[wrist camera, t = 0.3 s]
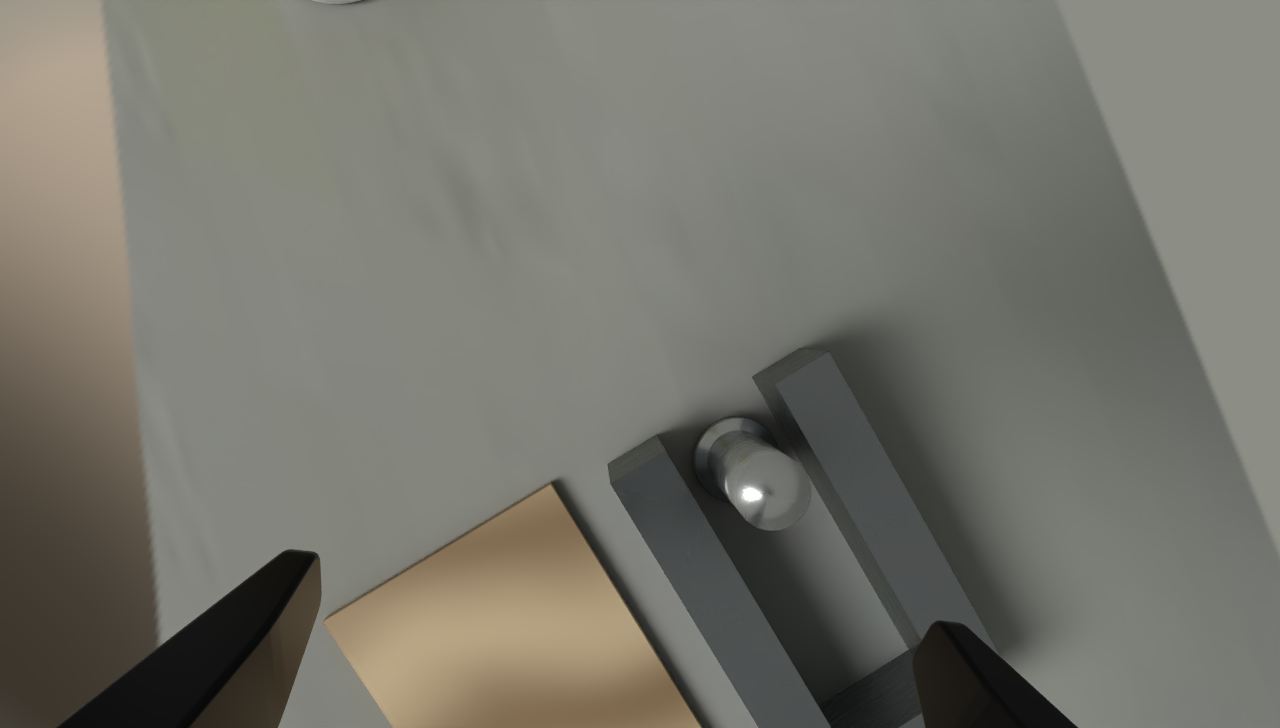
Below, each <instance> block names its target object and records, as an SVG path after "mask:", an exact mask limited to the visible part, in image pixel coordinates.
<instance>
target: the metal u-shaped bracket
mask: <svg viewBox="0 0 1280 728" xmlns="http://www.w3.org/2000/svg"><path fill="white" fill-rule="evenodd" d="M752 378H753V380H754V382H755V384H756V385H757V387H758V389H759V390H760V392H761V394H762V396H763V397H764V399H765V401H766V403H767V404H768V406H769V408H770V410H771V411H772V413H773V415H774V416H775V418H776V420H777V422H778V423H779V425H780V427H781V429H782V430H783V432H784V434H785V436H786V437H787V439H788V441H789V442H790V444H791V446H792V448H793V449H794V451H795V453H796V455H797V456H798V458H799V460H800V462H801V463H802V465H803V467H804V469H805V470H806V472H807V474H808V475H809V477H810V479H811V481H812V482H813V484H814V486H815V488H816V489H817V491H818V493H819V495H820V496H821V498H822V500H823V501H824V503H825V505H826V507H827V508H828V510H829V512H830V514H831V515H832V517H833V519H834V521H835V522H836V524H837V526H838V527H839V529H840V531H841V533H842V534H843V536H844V538H845V540H846V541H847V543H848V545H849V547H850V548H851V550H852V552H853V554H854V555H855V557H856V559H857V560H858V562H859V564H860V566H861V567H862V569H863V571H864V573H865V574H866V576H867V578H868V580H869V581H870V583H871V585H872V586H873V588H874V590H875V592H876V593H877V595H878V597H879V599H880V600H881V602H882V604H883V606H884V607H885V609H886V611H887V612H888V614H889V616H890V618H891V619H892V621H893V623H894V625H895V626H896V628H897V630H898V632H899V633H900V635H901V637H902V639H903V640H904V642H905V644H906V645H907V647H908V649H909V650H908V651H906V652H905V653H903V654H902V655H900V656H898V657H897V658H895V659H894V660H892V661H890V662H889V663H887V664H886V665H884V666H882V667H881V668H879V669H878V670H876V671H874V672H873V673H871V674H870V675H868V676H866V677H865V678H863V679H862V680H860V681H859V682H857V683H855V684H854V685H852V686H851V687H849V688H847V689H846V690H844V691H843V692H841V693H839V694H838V695H836V696H835V697H833V698H831V699H830V700H828V701H827V702H825V703H823V704H822V705H820V706H819V707H818V705H817V703H816V702H815V700H814V698H813V697H812V695H811V693H810V691H809V690H808V688H807V686H806V685H805V683H804V681H803V680H802V678H801V676H800V675H799V673H798V671H797V670H796V668H795V666H794V665H793V663H792V661H791V660H790V658H789V656H788V655H787V653H786V651H785V650H784V648H783V646H782V645H781V643H780V641H779V640H778V638H777V636H776V634H775V633H774V631H773V629H772V628H771V626H770V624H769V623H768V621H767V619H766V618H765V616H764V614H763V613H762V611H761V609H760V608H759V606H758V604H757V603H756V601H755V599H754V598H753V596H752V594H751V593H750V591H749V589H748V588H747V586H746V584H745V583H744V581H743V579H742V577H741V576H740V574H739V572H738V571H737V569H736V567H735V566H734V564H733V562H732V561H731V559H730V557H729V556H728V554H727V552H726V551H725V549H724V547H723V546H722V544H721V542H720V541H719V539H718V537H717V536H716V534H715V532H714V531H713V529H712V527H711V526H710V524H709V522H708V520H707V519H706V517H705V515H704V514H703V512H702V510H701V509H700V507H699V505H698V504H697V502H696V500H695V499H694V497H693V495H692V494H691V492H690V490H689V489H688V487H687V485H686V484H685V482H684V480H683V479H682V477H681V475H680V474H679V472H678V470H677V469H676V467H675V465H674V463H673V462H672V460H671V458H670V457H669V455H668V453H667V452H666V450H665V449H664V447H663V445H662V444H661V442H660V441H659V439H658V437H657V436H656V435H655V436H653V437H652V438H650V439H648V440H647V441H645V442H643V443H642V444H640V445H638V446H637V447H635V448H633V449H632V450H630V451H628V452H627V453H625V454H623V455H622V456H620V457H618V458H617V459H615V460H613V461H612V462H610V463H608V471H609V478H610V484H611V486H612V487H613V489H614V491H615V492H616V494H617V496H618V497H619V499H620V500H621V502H622V504H623V505H624V507H625V509H626V510H627V512H628V514H629V515H630V517H631V519H632V520H633V522H634V523H635V525H636V527H637V528H638V530H639V532H640V533H641V535H642V537H643V538H644V540H645V542H646V543H647V545H648V546H649V548H650V550H651V551H652V553H653V555H654V556H655V558H656V560H657V561H658V563H659V565H660V566H661V568H662V569H663V571H664V573H665V574H666V576H667V578H668V579H669V581H670V583H671V584H672V586H673V588H674V589H675V591H676V593H677V594H678V596H679V597H680V599H681V601H682V602H683V604H684V606H685V607H686V609H687V611H688V612H689V614H690V616H691V617H692V619H693V620H694V622H695V624H696V625H697V627H698V629H699V630H700V632H701V634H702V635H703V637H704V639H705V640H706V642H707V643H708V645H709V647H710V648H711V650H712V652H713V653H714V655H715V657H716V658H717V660H718V662H719V663H720V665H721V666H722V668H723V670H724V671H725V673H726V675H727V676H728V678H729V680H730V681H731V683H732V685H733V686H734V688H735V690H736V691H737V693H738V694H739V696H740V698H741V699H742V701H743V703H744V704H745V706H746V708H747V709H748V711H749V713H750V714H751V716H752V717H753V719H754V721H755V722H756V724H757V726H758V727H759V728H925V725H924V720H923V716H922V711H921V707H920V702H919V698H918V693H917V689H916V684H915V680H914V675H913V670H912V659H913V655H914V652H915V650H916V649H917V647H918V645H919V644H920V642H921V641H922V639H923V637H924V636H925V634H926V632H927V631H928V629H929V627H930V626H931V624H932V623H934V622H935V621H938V620H942V621H951V622H959V623H962V624H964V625H966V626H967V627H968V628H969V629H970V630H971V631H973V632H974V633H975V634H976V635H977V636H978V637H979V638H980V639H981V640H982V641H983V642H985V643H986V644H987V645H988V646H989V647H990V648H991V649H992V650H993V651H994V652H996V653H997V654H998V655H999V656H1000V654H999V653H998V651H997V649H996V647H995V646H994V644H993V642H992V640H991V638H990V637H989V635H988V633H987V631H986V630H985V628H984V626H983V624H982V622H981V621H980V619H979V617H978V615H977V614H976V612H975V610H974V608H973V606H972V605H971V603H970V601H969V599H968V598H967V596H966V594H965V592H964V590H963V589H962V587H961V585H960V583H959V581H958V580H957V578H956V576H955V574H954V573H953V571H952V569H951V567H950V565H949V564H948V562H947V560H946V558H945V557H944V555H943V553H942V551H941V549H940V548H939V546H938V544H937V542H936V541H935V539H934V537H933V535H932V533H931V532H930V530H929V528H928V526H927V525H926V523H925V521H924V519H923V517H922V516H921V514H920V512H919V510H918V509H917V507H916V505H915V503H914V501H913V500H912V498H911V496H910V494H909V493H908V491H907V489H906V487H905V485H904V484H903V482H902V480H901V478H900V477H899V475H898V473H897V471H896V469H895V468H894V466H893V464H892V462H891V461H890V459H889V457H888V455H887V453H886V452H885V450H884V448H883V446H882V445H881V443H880V441H879V439H878V437H877V436H876V434H875V432H874V430H873V429H872V427H871V425H870V423H869V421H868V420H867V418H866V416H865V414H864V413H863V411H862V409H861V407H860V405H859V404H858V402H857V400H856V398H855V397H854V395H853V393H852V391H851V389H850V388H849V386H848V384H847V382H846V381H845V379H844V377H843V375H842V373H841V372H840V370H839V368H838V366H837V365H836V363H835V361H834V359H833V357H832V356H831V354H830V352H828V351H818V350H809V349H798V350H796V351H794V352H793V353H791V354H789V355H788V356H786V357H784V358H783V359H781V360H779V361H778V362H776V363H774V364H773V365H771V366H769V367H768V368H766V369H764V370H763V371H761V372H759V373H758V374H756V375H754V376H753V377H752ZM1000 657H1001V656H1000Z"/></svg>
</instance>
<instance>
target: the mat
mask: <svg viewBox="0 0 1280 728" xmlns="http://www.w3.org/2000/svg"><path fill="white" fill-rule="evenodd" d="M323 623H324V625H325V626H326V628H327V629H328V631H329V632H330V634H331V635H332V637H333V638H334V640H335V641H336V643H337V644H338V646H339V647H340V649H341V650H342V652H343V653H344V655H345V656H346V658H347V659H348V661H349V662H350V664H351V665H352V667H353V668H354V670H355V671H356V673H357V674H358V676H359V677H360V679H361V680H362V682H363V683H364V685H365V686H366V688H367V689H368V691H369V692H370V694H371V695H372V697H373V698H374V699H375V701H376V702H377V704H378V705H379V707H380V708H381V710H382V711H383V713H384V714H385V716H386V717H387V719H388V720H389V722H390V723H391V725H392V726H393V728H703V727H702V725H701V723H700V722H699V720H698V719H697V717H696V715H695V714H694V712H693V710H692V709H691V707H690V706H689V704H688V702H687V701H686V699H685V698H684V696H683V694H682V693H681V691H680V689H679V688H678V686H677V685H676V683H675V681H674V680H673V678H672V676H671V675H670V673H669V672H668V670H667V668H666V667H665V665H664V663H663V662H662V660H661V659H660V657H659V655H658V654H657V652H656V651H655V649H654V647H653V646H652V644H651V642H650V641H649V639H648V638H647V636H646V634H645V633H644V631H643V629H642V628H641V626H640V625H639V623H638V621H637V620H636V618H635V616H634V615H633V613H632V612H631V610H630V608H629V607H628V605H627V604H626V602H625V600H624V599H623V597H622V595H621V594H620V592H619V591H618V589H617V587H616V586H615V584H614V582H613V581H612V579H611V578H610V576H609V574H608V573H607V571H606V570H605V568H604V566H603V565H602V563H601V561H600V560H599V558H598V557H597V555H596V553H595V552H594V550H593V548H592V547H591V545H590V544H589V542H588V540H587V539H586V537H585V535H584V534H583V532H582V531H581V529H580V527H579V526H578V524H577V523H576V521H575V519H574V518H573V516H572V514H571V513H570V511H569V510H568V508H567V506H566V505H565V503H564V501H563V500H562V498H561V497H560V495H559V493H558V492H557V490H556V489H555V487H554V485H553V484H552V482H550V483H548V484H547V485H545V486H544V487H542V488H540V489H539V490H537V491H535V492H534V493H532V494H530V495H529V496H527V497H525V498H524V499H522V500H520V501H519V502H517V503H515V504H514V505H512V506H510V507H509V508H507V509H505V510H504V511H502V512H500V513H499V514H497V515H495V516H494V517H492V518H490V519H489V520H487V521H485V522H484V523H482V524H480V525H479V526H477V527H475V528H474V529H472V530H470V531H469V532H467V533H465V534H464V535H462V536H460V537H459V538H457V539H455V540H454V541H452V542H450V543H449V544H447V545H445V546H444V547H442V548H440V549H439V550H437V551H435V552H434V553H432V554H430V555H429V556H427V557H425V558H424V559H422V560H420V561H419V562H417V563H415V564H414V565H412V566H410V567H409V568H407V569H406V570H404V571H402V572H401V573H399V574H397V575H396V576H394V577H392V578H391V579H389V580H387V581H386V582H384V583H382V584H381V585H379V586H377V587H376V588H374V589H372V590H371V591H369V592H367V593H366V594H364V595H362V596H361V597H359V598H357V599H356V600H354V601H352V602H351V603H349V604H347V605H346V606H344V607H342V608H341V609H339V610H337V611H336V612H334V613H332V614H331V615H329V616H327V617H326V618H325V620H324V621H323Z"/></svg>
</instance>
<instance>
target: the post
mask: <svg viewBox="0 0 1280 728" xmlns="http://www.w3.org/2000/svg"><path fill="white" fill-rule="evenodd" d="M693 460H694V468H695V472H696V475H697V477H698V479H699V481H700V482H701V483H702V485H703V486H704V488H705V489H706V490H707V491H708V492H709V493H710V494H711V495H713V496H714V497H716V498H718V499H720V500H722V501H725V502H730V503H732V504H733V505H734V506H735V507H736V509H737V510H738V511H739V512H740V514H741V515H742V516H743V517H744V518H745V519H746V521H748V522H749V523H750V524H752V525H753V526H755V527H757V528H759V529H763V530H768V531H775V530H781V529H785V528H787V527H789V526H791V525H793V524H794V523H796V522H797V521H798V520H799V519H800V518H801V517H802V516H803V514H804V513H805V511H806V510H807V508H808V505H809V502H810V498H811V485H810V481H809V478H808V475H807V473H806V472H805V470H804V469H803V468H802V466H801V465H800V464H799V463H797V462H796V461H795V460H793V459H792V458H790V457H788V456H787V455H785V454H784V453H782V452H781V451H779V449H778V446H777V443H776V441H775V439H774V438H773V436H772V435H771V434H770V432H769V431H768V430H767V429H765V428H764V427H763V426H761V425H760V424H758V423H757V422H755V421H753V420H750V419H747V418H743V417H728V418H724V419H721V420H718V421H716V422H715V423H713V424H712V425H710V426H709V427H708V428H707V429H706V430H705V431H704V432H703V433H702V434H701V436H700V437H699V439H698V441H697V443H696V446H695V450H694V458H693Z"/></svg>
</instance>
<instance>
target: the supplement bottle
mask: <svg viewBox="0 0 1280 728" xmlns="http://www.w3.org/2000/svg"><path fill="white" fill-rule="evenodd" d="M313 1H317V2H321V3H328V4H346V3H353V2H357V1H361V0H313Z"/></svg>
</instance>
